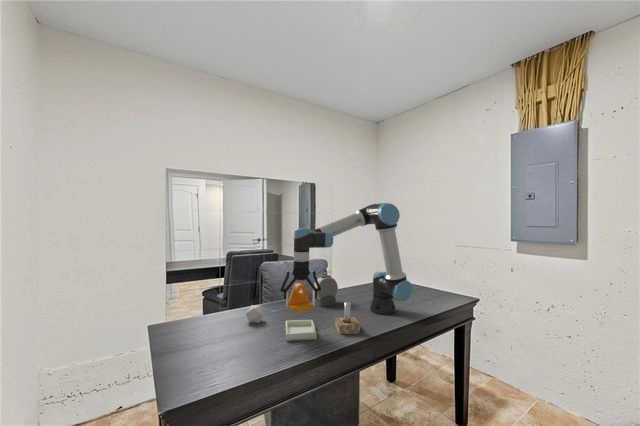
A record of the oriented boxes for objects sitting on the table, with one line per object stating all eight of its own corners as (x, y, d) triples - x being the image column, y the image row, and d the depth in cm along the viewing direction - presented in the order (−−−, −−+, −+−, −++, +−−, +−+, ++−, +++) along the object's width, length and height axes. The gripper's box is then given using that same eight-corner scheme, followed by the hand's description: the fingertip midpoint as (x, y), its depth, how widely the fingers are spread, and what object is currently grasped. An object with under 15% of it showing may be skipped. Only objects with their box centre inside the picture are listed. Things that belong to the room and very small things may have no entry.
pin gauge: (349, 328, 138) (350, 302, 138) (351, 330, 134) (351, 304, 135) (343, 328, 137) (343, 302, 137) (344, 330, 134) (345, 304, 134)
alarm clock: (331, 299, 185) (331, 272, 186) (340, 303, 177) (340, 275, 177) (310, 303, 177) (311, 274, 177) (318, 307, 168) (319, 277, 168)
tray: (312, 325, 140) (312, 319, 140) (316, 339, 124) (316, 332, 124) (285, 326, 138) (285, 320, 138) (286, 340, 122) (286, 334, 122)
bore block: (354, 325, 141) (354, 317, 142) (359, 333, 132) (360, 324, 132) (335, 325, 140) (335, 318, 140) (339, 334, 130) (339, 325, 130)
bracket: (292, 313, 125) (293, 287, 126) (287, 308, 132) (287, 283, 132) (313, 310, 130) (314, 285, 131) (307, 305, 137) (308, 281, 137)
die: (266, 320, 148) (258, 303, 151) (267, 317, 140) (259, 299, 144) (251, 328, 144) (243, 310, 148) (251, 325, 137) (243, 307, 140)
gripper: (325, 259, 137) (324, 302, 137) (275, 259, 133) (274, 303, 133) (327, 261, 130) (326, 307, 129) (275, 261, 126) (274, 308, 126)
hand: (300, 305), depth 131 cm, fingers closed on bracket, 12 cm apart
